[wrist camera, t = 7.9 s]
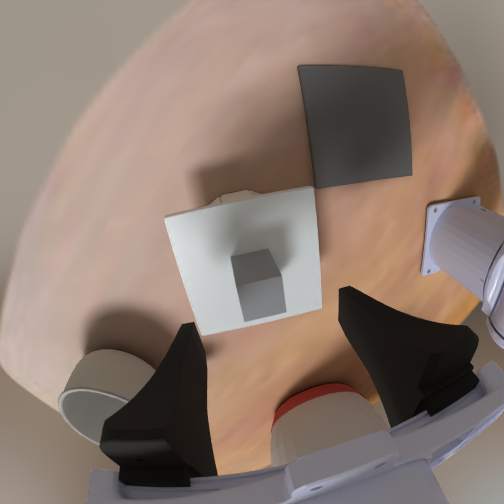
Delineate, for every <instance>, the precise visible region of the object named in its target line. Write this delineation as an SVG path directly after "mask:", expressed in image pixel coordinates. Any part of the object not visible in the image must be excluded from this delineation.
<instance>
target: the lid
mask: <svg viewBox="0 0 504 504" xmlns="http://www.w3.org/2000/svg"><path fill="white" fill-rule="evenodd" d="M164 220H165V224H166V228H167V231H168V235H169V238H170V241H171V245H172V248H173V251H174V255H175V258H176V261H177V264H178V268H179V271H180V274H181V277H182V280H183V283H184V286H185V289H186V292H187V295H188V298H189V301H190V304H191V307H192V310H193V313H194V315H195V318H196V321H197V324H198V327H199V329H200V332H201V335H202V336H204V335H209V334H214V333H219V332H224V331H229V330H234V329H239V328H243V327H248V326H252V325H257V324H261V323H265V322H270V321H274V320H278V319H282V318H286V317H290V316H294V315H298V314H302V313H306V312H310V311H313V310H317V309H321V308H322V298H321V275H320V257H319V242H318V229H317V217H316V206H315V196H314V187H312V186H305V187H299V188H293V189H288V190H282V191H277V192H271V193H266V194H261V195H256V196H251V197H246V198H241V199H236V200H231V201H226V202H222V203H217V204H212V205H208V206H203V207H199V208H194V209H190V210H186V211H182V212H177V213H173V214H169V215H165V217H164Z"/></svg>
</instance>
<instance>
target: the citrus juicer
mask: <svg viewBox="0 0 504 504" xmlns="http://www.w3.org/2000/svg"><path fill="white" fill-rule="evenodd" d="M388 429H389V427H388V425H387V424H386V422H385V421H384V419H383V418H382V416H381V415H380V414H379V412H378V411H377V410H376V409H375V408H374V407H373V405H371V404H370V403H369V402H368V401H367V400H366V399H365V398H364V396H363V395H361V394H360V393H359V392H357V391H356V390H354V389H353V388H351V387H350V386H348V385H345V384H339V383H335V384H326V385H320V386H317V387H313V388H311V389H308V390H305V391H303V392H301V393H299V394H297V395H295V396H293V397H291V398H289V399H288V400H287V401H286V402H285V403H283V404H282V405H281V406H280V408H279V409H278V410H277V412H276V413H275V417H274V421H273V424H272V429H271V433H272V435H271V462H272V467H276V466H281V465H285V464H289V463H290V462H292V461H294V460H295V459H297V458H299V457H302V456H305V455H307V454H310V453H313V452H317V451H320V450H323V449H327V448H330V447H333V446H336V445H339V444H342V443H344V442H347V441H350V440H353V439H355V438H358V437H361V436H363V435H366V434H368V433H371V432H374V431H378V430H388Z"/></svg>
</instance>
